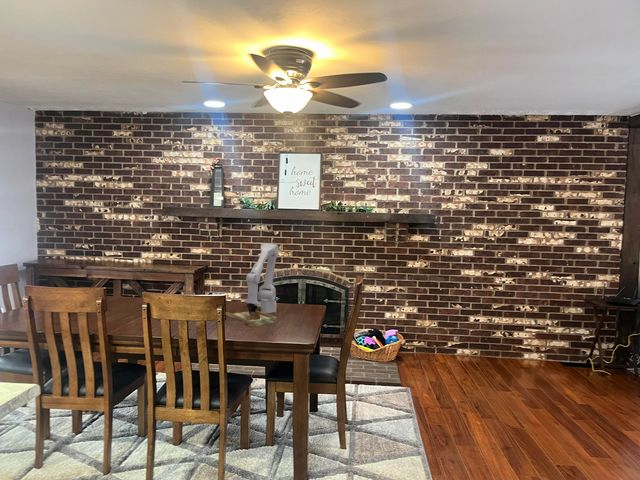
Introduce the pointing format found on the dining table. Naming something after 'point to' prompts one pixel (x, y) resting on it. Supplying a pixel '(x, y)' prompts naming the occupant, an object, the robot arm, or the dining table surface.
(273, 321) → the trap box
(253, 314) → the walnut block
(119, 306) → the dining table surface
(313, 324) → the dining table surface
